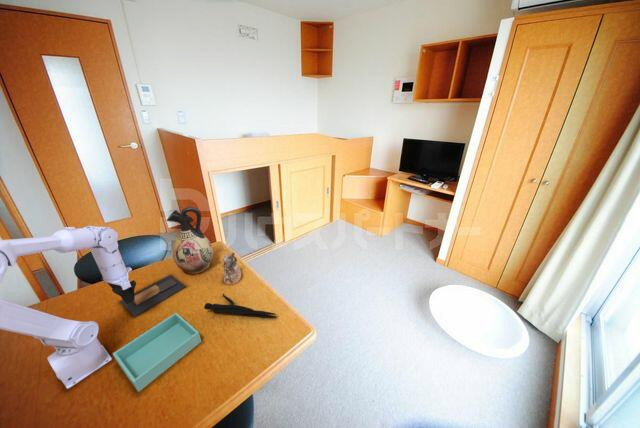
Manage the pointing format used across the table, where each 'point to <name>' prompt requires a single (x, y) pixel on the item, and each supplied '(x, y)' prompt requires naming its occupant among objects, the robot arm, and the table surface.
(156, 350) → the bin
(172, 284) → the spatula
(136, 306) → the tray
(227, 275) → the figurine
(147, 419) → the table surface
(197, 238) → the ceramic jug
